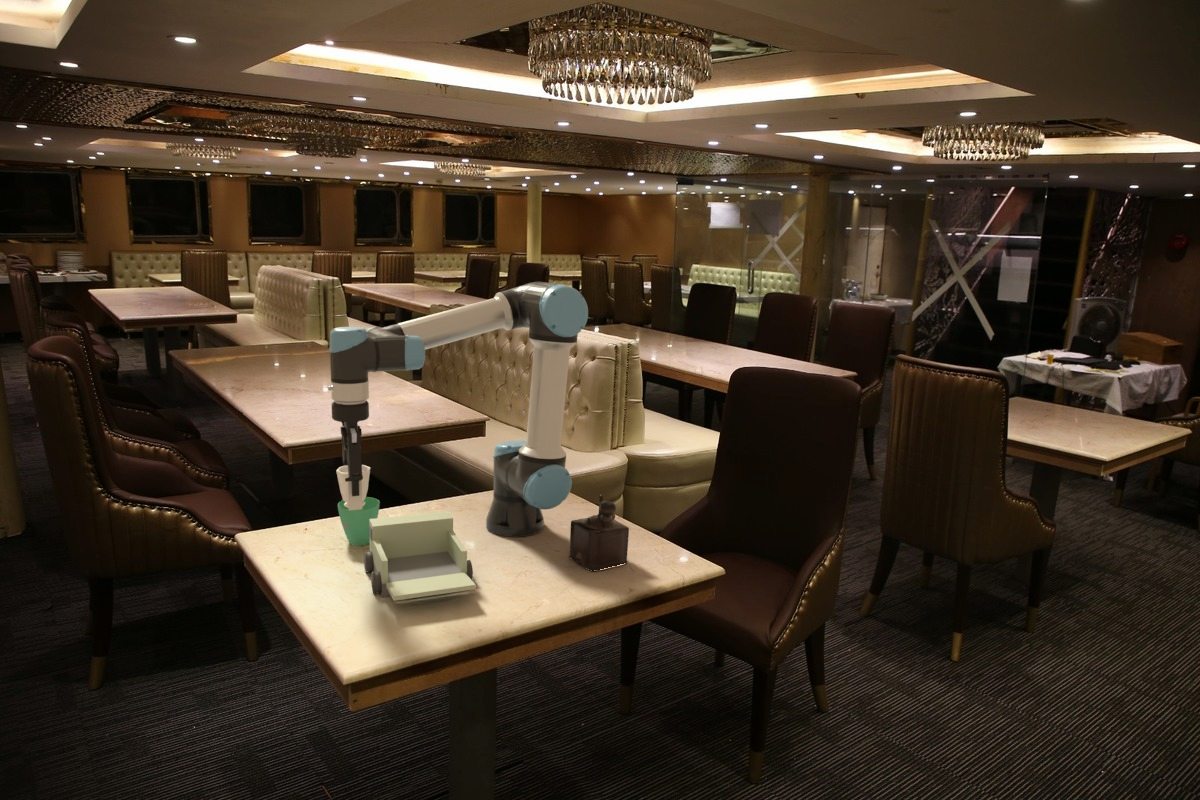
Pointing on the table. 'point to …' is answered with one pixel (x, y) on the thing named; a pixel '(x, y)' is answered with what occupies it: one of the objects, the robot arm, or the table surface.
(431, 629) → the table surface
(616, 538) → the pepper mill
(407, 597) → the panel
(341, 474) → the cup
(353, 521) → the mug
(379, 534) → the pickup truck
